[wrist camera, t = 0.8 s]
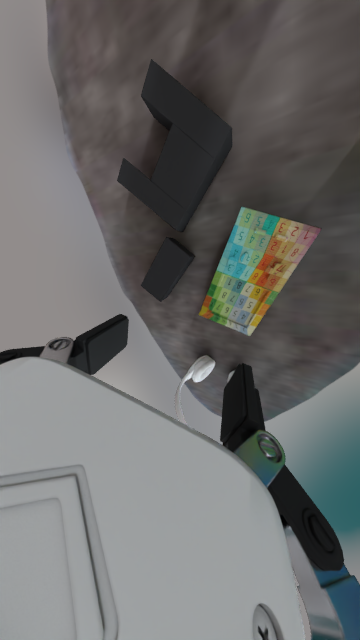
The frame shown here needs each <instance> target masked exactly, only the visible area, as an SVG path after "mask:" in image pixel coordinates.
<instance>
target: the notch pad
mask: <svg viewBox="0 0 360 640" xmlns="http://www.w3.org/2000/svg"><path fill="white" fill-rule="evenodd" d="M141 97H142V98H143V100H144V102H145V103H146V105H147V107H148V108H149V110H150V112H151V113H152V115H153V117H154V118H155V119H156V120H158V121H159V122H160V123H161V124H162V125H163V126H165V127H166V128H167V129H168V130H169V134H168V137H167V139H166V142H165V144H164V147H163V150H162V152H161V155H160V157H159V160H158V163H157V165H156V168H155V170H154V173H153V176H152V178H151V180H150V179H148V178H147V177H146V176H145V175H144V174H142V173H141V172H140V171H139V170H138V169H137V168H135V167H134V166H133V165H132V164H131V163H129V162H128V161H127V160H126V159H125V158H123V162H122V165H121V169H120V172H119V176H118V179H117V181H118V182H119V183H121V184H122V185H123V186H124V187H125V188H127V189H128V190H129V191H130V192H131V193H133V194H134V195H135V196H136V197H137V198H139V199H140V200H141V201H142V202H143V203H144V204H146V205H147V206H148V207H149V208H150V209H152V210H153V211H154V212H155V213H156V214H158V215H159V216H160V217H161V218H162V219H164V220H165V221H166V222H167V223H168V224H169V225H171V226H172V227H173V228H174V229H175V230H178V231H181V232H183V231H184V229H185V227H186V225H187V224H188V222H189V220H190V218H191V217H192V215H193V213H194V212H195V210H196V208H197V206H198V205H199V203H200V201H201V199H202V198H203V196H204V194H205V193H206V191H207V189H208V187H209V186H210V184H211V182H212V180H213V179H214V177H215V175H216V173H217V171H218V170H219V168H220V166H221V165H222V163H223V161H224V159H225V158H226V156H227V154H228V153H229V151H230V149H231V147H232V128H231V127H230V126H229V125H228V124H227V123H226V122H224V121H223V120H222V119H221V118H220V117H219V116H217V115H216V114H215V113H214V112H213V111H212V110H210V109H209V108H208V107H207V106H206V105H205V104H203V103H202V102H201V101H200V100H199V99H198V98H196V97H195V96H194V95H193V94H192V93H191V92H189V91H188V90H187V89H186V88H185V87H184V86H182V85H181V84H180V83H179V82H178V81H177V80H175V79H174V78H173V77H172V76H171V75H170V74H168V73H167V72H166V71H165V70H164V69H163V68H161V67H160V66H159V65H158V64H157V63H156V62H154V61H153V60H152V59H151V62H150V65H149V69H148V72H147V76H146V79H145V83H144V87H143V90H142V94H141Z"/></svg>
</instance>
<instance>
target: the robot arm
mask: <svg viewBox="0 0 360 640" xmlns="http://www.w3.org/2000/svg"><path fill="white" fill-rule="evenodd" d="M128 321H129V320H128V319H127V317H126V316H124V315H122V314H119V315H117V316H115V317H113V318H111V319H109V320H108V321H106V322H104V323H102V324H100V325H98V326H97V327H95V328H93V329H91V330H89V331H87V332H85V333H83V334H81V335H80V336H78V337H76V340H75V341H73V339H71V338H67V337H60V338H56V339H53V340H51V341H49V342H48V343H47V344H46V346H42V347H31V348H21V349H11V350H6V351H3V352H1V353H0V640H306V639H305V633H304V628H303V622H302V617H301V612H300V605H299V600H298V594H297V589H296V584H295V579H294V574H293V571H294V573H295V576H296V578H297V581H298V583H299V586H297V588H298V590H299V593H300V595H301V598H302V600H303V603H304V605H305V609H306V612H307V615H308V618H309V623H310V629H311V640H360V584H359V583H358V581H357V579H356V577H355V576H354V575H352V576H351V575H350V574H349V572H348V570H347V568H346V567H345V565H344V563H343V562H344V558H343V552H342V549H341V546H340V543H339V540H338V538H337V536H336V534H335V532H334V530H333V529H332V527H331V526H330V524H329V523H328V521H327V520H326V518H325V517H324V516H323V515H322V513H321V512H320V510H319V509H318V508H317V507H316V505H315V504H314V503H313V501H312V500H311V498H310V497H309V496H308V495H307V493H306V492H305V491H304V489H303V488H302V487H301V485H300V484H299V483H298V481H297V480H296V479H295V477H294V476H293V475H292V473H291V472H290V471H289V470H288V468H287V467H286V466H285V453H284V450H283V448H282V447H281V445H280V443H279V442H278V440H277V439H276V438H275V437H274V436H273V435H271V434H270V433H269V432H267V431H265V425H264V419H263V413H262V408H261V402H260V396H259V391H258V390H257V389H255V387H254V380H253V373H252V367H251V366H249V365H246V364H244V363H242V365H241V364H239V365H238V366H237V368H236V370H235V371H234V373H233V375H232V377H231V378H230V380H229V382H228V383H227V385H226V387H225V389H224V396H223V409H222V423H221V436H220V441H221V442H223V445H221V444H219V443H218V442H216V441H214V440H213V439H211V438H209V437H207V436H206V435H204V434H202V433H200V432H198V431H196V430H195V429H193V428H191V427H189V426H187V425H185V424H183V423H182V422H180V421H178V420H176V419H174V418H172V417H170V416H168V415H166V414H164V413H162V412H161V411H159V410H157V409H155V408H153V407H151V406H149V405H147V404H145V403H143V402H141V401H140V400H138V399H136V398H134V397H132V396H130V395H128V394H126V393H124V392H122V391H120V390H118V389H116V388H114V387H113V386H110V385H109V384H107V383H105V382H103V381H101V380H99V379H97V378H95V377H93V376H91V375H93V374H95V373H96V372H97V371H98V370H99V369H101V368H102V367H103V366H104V365H105V364H106V363H107V362H109V361H110V360H111V359H112V358H113V357H114V356H116V355H117V354H118V353H119V352H120V351H121V350H123V349H124V348H125V347H126V345H127V338H128ZM292 568H293V569H292Z"/></svg>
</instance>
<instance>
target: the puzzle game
mask: <svg viewBox="0 0 360 640" xmlns="http://www.w3.org/2000/svg"><path fill="white" fill-rule="evenodd" d="M321 229H322V228H318V227H315V226H311V225H308V224H304V223H300V222H297V221H293V220H290V219H286V218H282V217H279V216H275V215H271V214H268V213H264V212H261V211H257V210H253V209H250V208H246V207H241V209H240V212H239V214H238V217H237V219H236V222H235V224H234V227H233V229H232V232H231V235H230V237H229V240H228V242H227V245H226V247H225V250H224V252H223V255H222V257H221V260H220V262H219V265H218V267H217V270H216V272H215V275H214V277H213V280H212V282H211V285H210V287H209V290H208V292H207V295H206V297H205V300H204V302H203V305H202V308H201V310H200V313H199V315H200V316H203V317H205V318H207V319H210V320H212V321H215V322H217V323H219V324H222V325H224V326H227V327H229V328H231V329H234V330H236V331H239V332H241V333H243V334H246V335H248V336H250V335H251V334H252V332H253V331H254V329H255V328H256V326H257V325H258V323H259V322H260V320H261V319H262V317H263V316H264V314H265V313H266V311H267V310H268V308H269V307H270V305H271V304H272V302H273V301H274V299H275V298H276V296H277V295H278V293H279V292H280V290H281V289H282V287H283V286H284V284H285V283H286V281H287V280H288V278H289V277H290V275H291V274H292V272H293V271H294V269H295V268H296V266H297V265H298V263H299V262H300V260H301V259H302V257H303V256H304V255H305V253H306V252H307V250H308V249H309V247H310V246H311V244H312V243H313V241H314V240H315V238H316V237H317V235H318V234H319V232H320V231H321Z"/></svg>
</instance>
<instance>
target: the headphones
mask: <svg viewBox="0 0 360 640" xmlns="http://www.w3.org/2000/svg"><path fill="white" fill-rule="evenodd" d="M214 366H215V361H214V360H212V359H211V358H210V357H209V356H208V355H205V356H202V357H200V358H199V359H197V360H196V361H195V362H194V363H193V365H192V366H191V368H190V369H189V371H188V372H187V374H186V375H185V376H184V378H183V379H182V380H181V382H180V384H179V386H178V388H177V392H176V395H175V409H176V414H177V417H178V419H179V421H180V422H182V423H183V424H185V425H187V426H189V425H188V424H187V422H186V421H185V419H184V413H183V410H182V407H181V403H180V391H181V388H182V386H183V384H184V382H185V381H186V380H188V379H190V378H192V379H193V381H194V382H200V381H202V380H203V379H204V378H206V377H207V376H208V375H209V374H210V372H211V371H212V370H213V368H214ZM233 373H234V371H232V372H231V373H230V374H229V376H228V382H229V380H230V378H231V377H232V375H233ZM254 387H255V386H254ZM189 427H190V426H189Z"/></svg>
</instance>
